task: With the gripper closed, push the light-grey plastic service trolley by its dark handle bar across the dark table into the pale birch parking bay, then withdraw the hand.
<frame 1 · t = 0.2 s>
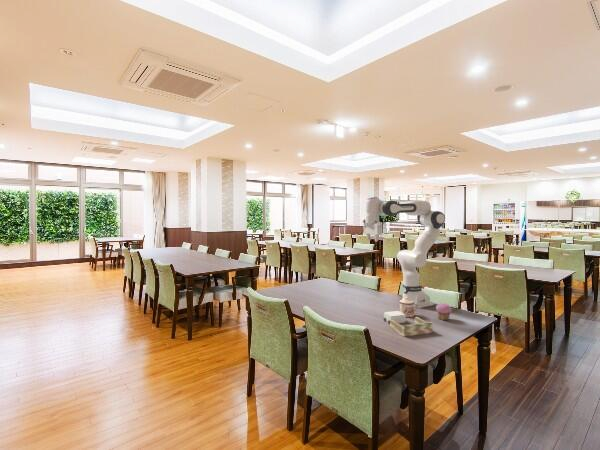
hand: (372, 240, 217), 47 cm above the table, fingers open, 8 cm apart
cupcake: (443, 319, 195), on the table
teacup with lid: (408, 315, 204), on the table
bay: (409, 329, 178), on the table
trolley: (394, 321, 193), on the table
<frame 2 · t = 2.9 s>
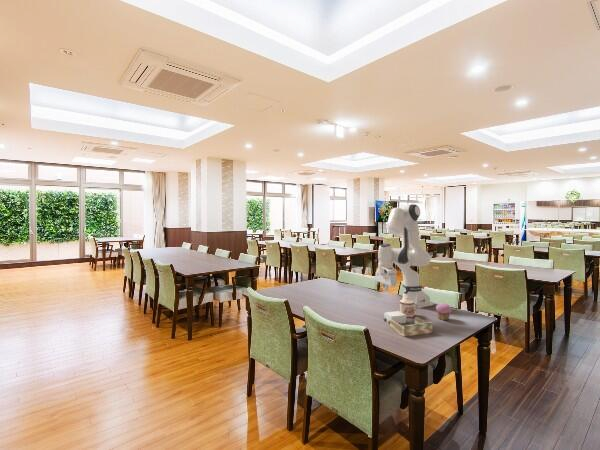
hand: (385, 290, 202), 17 cm above the table, fingers closed
nothing on the table moved.
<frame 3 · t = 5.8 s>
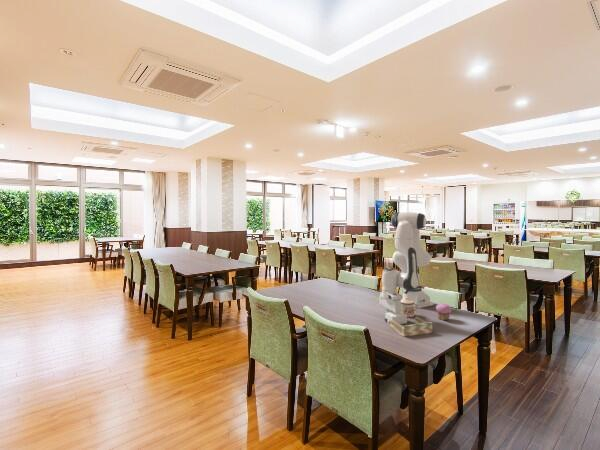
hand: (389, 315, 198), 2 cm above the table, fingers closed
trolley: (395, 322, 192), on the table, touching gripper
everything else where it was.
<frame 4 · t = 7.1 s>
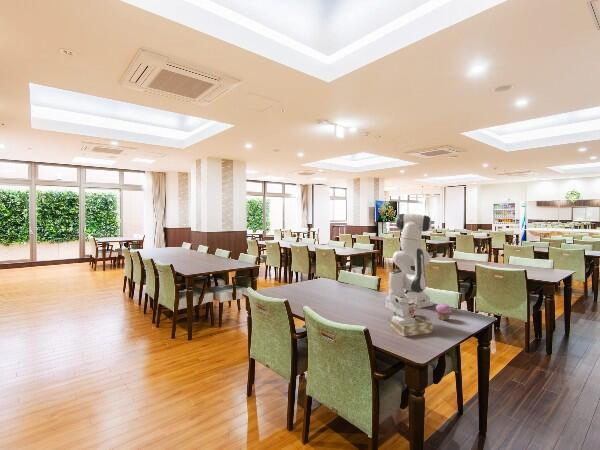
hand: (396, 319, 191), 2 cm above the table, fingers closed
trolley: (403, 326, 184), on the table, touching gripper
everything else where it was.
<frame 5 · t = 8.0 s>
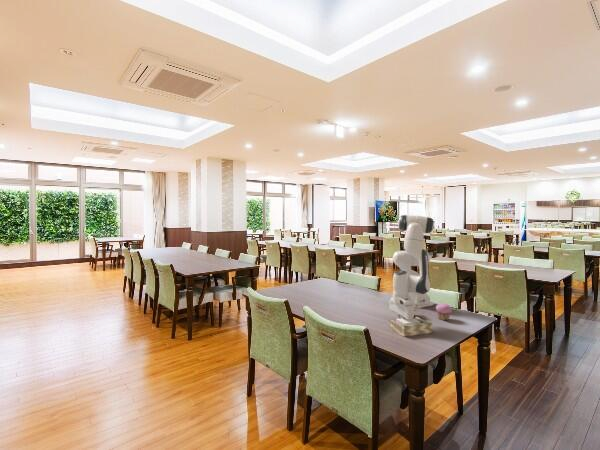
hand: (400, 321, 186), 2 cm above the table, fingers closed
trolley: (408, 329, 180), on the table, touching gripper
everything else where it was.
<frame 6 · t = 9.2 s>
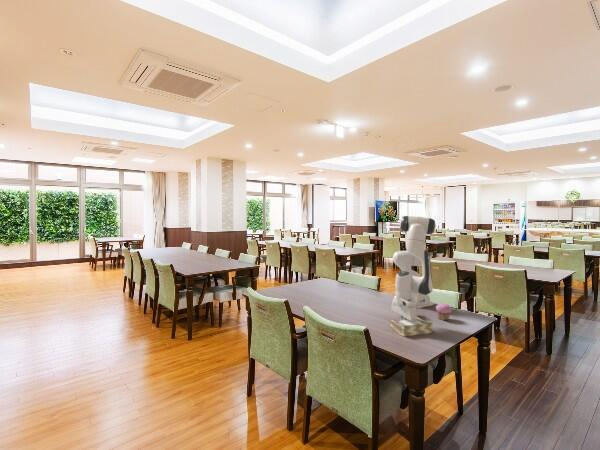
hand: (403, 323, 184), 2 cm above the table, fingers closed
trolley: (410, 330, 178), on the table
everything else where it was.
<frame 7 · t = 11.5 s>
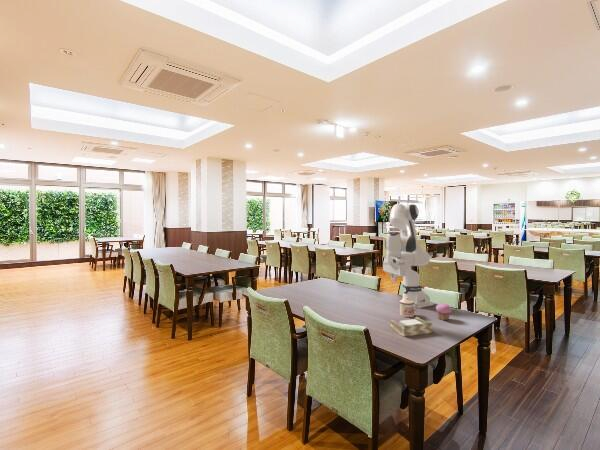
hand: (393, 281, 193), 25 cm above the table, fingers closed
nothing on the table moved.
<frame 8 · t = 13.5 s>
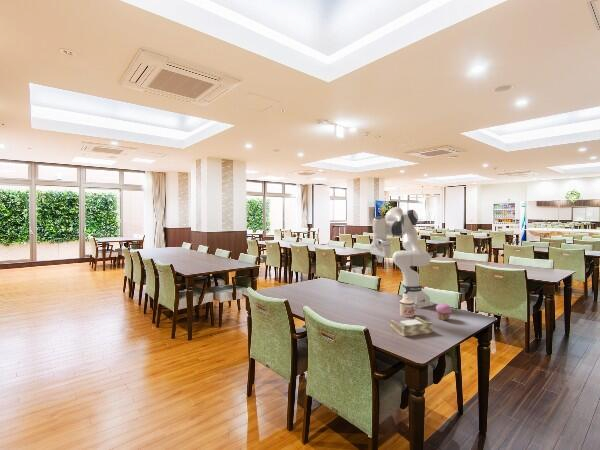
hand: (379, 262, 206), 34 cm above the table, fingers closed
nothing on the table moved.
at the end: trolley inside the target area on the bay (1.8 cm from its centre), point 0.0 cm above the bay's base; trolley tilted 0°; the gripper is holding nothing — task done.
